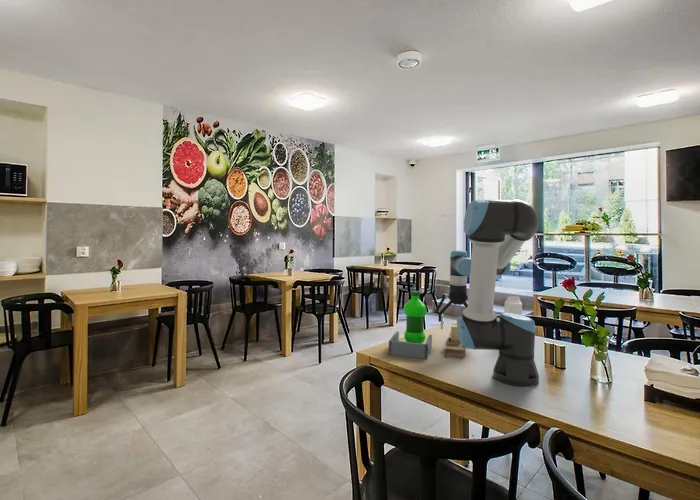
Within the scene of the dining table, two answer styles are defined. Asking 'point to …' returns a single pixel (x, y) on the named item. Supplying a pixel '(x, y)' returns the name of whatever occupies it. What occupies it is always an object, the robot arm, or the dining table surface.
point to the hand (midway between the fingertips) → (457, 330)
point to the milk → (513, 305)
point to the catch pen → (409, 347)
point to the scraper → (454, 344)
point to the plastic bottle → (414, 319)
